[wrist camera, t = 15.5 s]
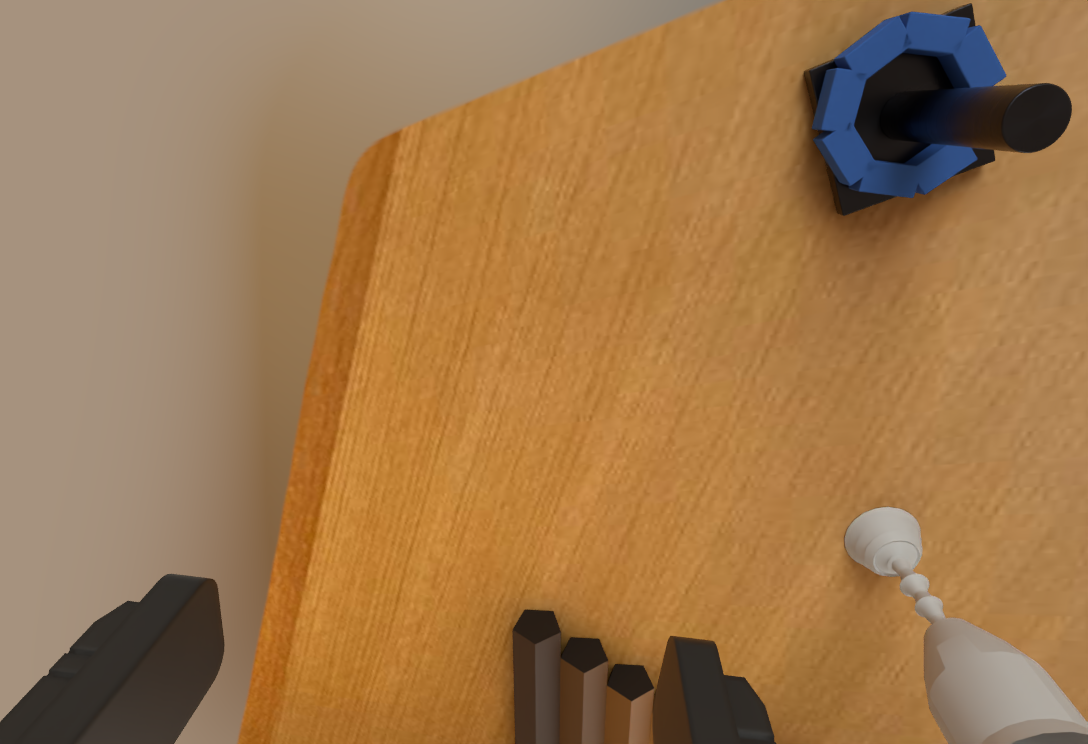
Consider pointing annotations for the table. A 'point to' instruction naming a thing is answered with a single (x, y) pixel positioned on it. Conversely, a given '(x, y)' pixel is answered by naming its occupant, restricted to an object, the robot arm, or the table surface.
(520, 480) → the table surface
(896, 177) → the ring
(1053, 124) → the black peg stand
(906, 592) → the chalice
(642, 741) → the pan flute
